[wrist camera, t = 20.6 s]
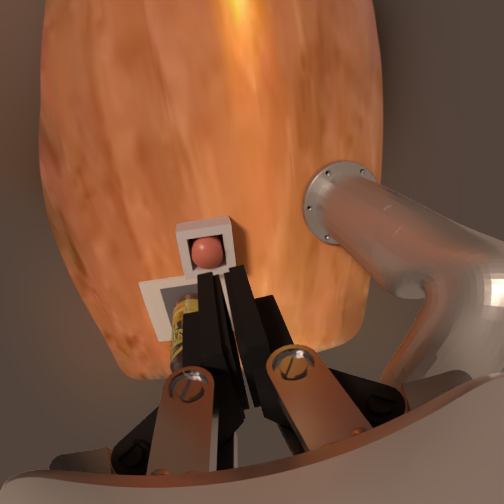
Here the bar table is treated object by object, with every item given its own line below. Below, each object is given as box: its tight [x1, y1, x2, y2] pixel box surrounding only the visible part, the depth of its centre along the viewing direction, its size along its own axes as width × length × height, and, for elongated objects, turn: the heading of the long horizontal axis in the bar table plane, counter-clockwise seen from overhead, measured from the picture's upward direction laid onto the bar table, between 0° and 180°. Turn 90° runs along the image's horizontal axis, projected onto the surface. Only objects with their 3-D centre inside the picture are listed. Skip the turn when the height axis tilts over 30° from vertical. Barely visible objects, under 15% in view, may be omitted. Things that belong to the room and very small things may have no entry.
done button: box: [192, 235, 223, 269], centre depth 37 cm, size 4×4×3 cm
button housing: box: [176, 216, 236, 280], centre depth 38 cm, size 7×7×3 cm
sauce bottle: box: [170, 294, 198, 373], centre depth 34 cm, size 7×6×20 cm
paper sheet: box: [139, 274, 234, 342], centre depth 43 cm, size 14×12×1 cm
